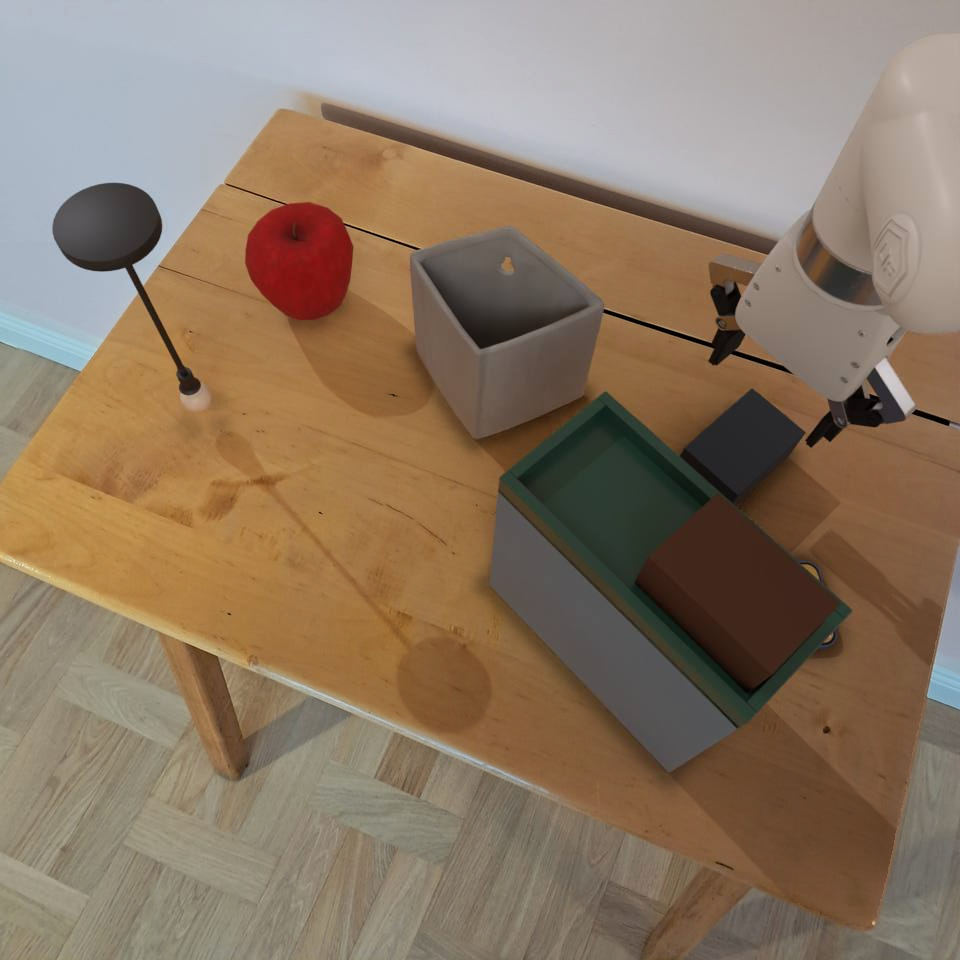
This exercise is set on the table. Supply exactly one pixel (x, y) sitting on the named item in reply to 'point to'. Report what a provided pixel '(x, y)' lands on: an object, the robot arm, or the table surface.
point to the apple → (300, 259)
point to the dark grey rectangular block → (743, 446)
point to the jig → (634, 533)
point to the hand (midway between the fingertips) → (770, 393)
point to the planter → (502, 328)
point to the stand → (600, 645)
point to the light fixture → (121, 253)
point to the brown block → (734, 592)
